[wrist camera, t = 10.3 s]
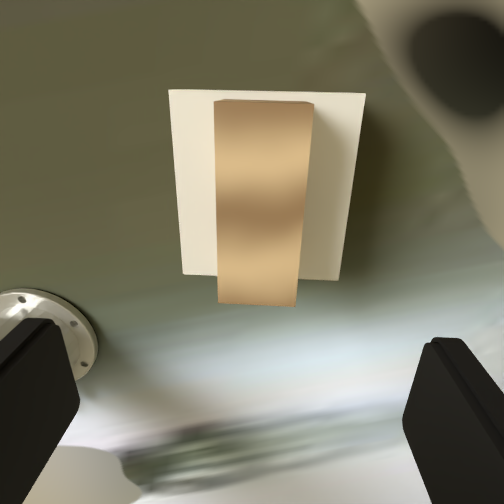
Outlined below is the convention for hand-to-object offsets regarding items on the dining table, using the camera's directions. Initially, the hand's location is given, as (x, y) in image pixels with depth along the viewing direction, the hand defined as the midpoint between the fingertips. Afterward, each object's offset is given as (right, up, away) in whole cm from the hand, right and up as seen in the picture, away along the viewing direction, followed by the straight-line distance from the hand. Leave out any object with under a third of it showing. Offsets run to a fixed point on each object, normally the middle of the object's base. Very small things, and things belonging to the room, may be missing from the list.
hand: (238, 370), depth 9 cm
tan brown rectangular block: (+1, +9, +18) cm, 20 cm away
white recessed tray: (+1, +10, +20) cm, 22 cm away
